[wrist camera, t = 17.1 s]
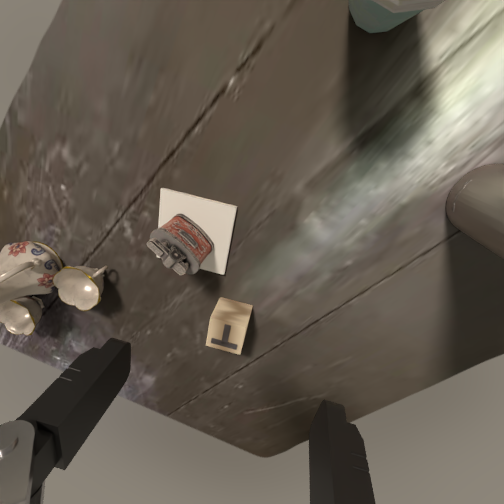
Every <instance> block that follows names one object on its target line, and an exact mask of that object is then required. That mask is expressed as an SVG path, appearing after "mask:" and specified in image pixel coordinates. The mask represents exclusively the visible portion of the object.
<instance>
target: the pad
mask: <svg viewBox="0 0 504 504" xmlns="http://www.w3.org/2000/svg"><path fill="white" fill-rule="evenodd" d="M236 211H237V206H234V205H230V204H226V203H222V202H218V201H214V200H210V199H206V198H202V197H198V196H194V195H190V194H186V193H182V192H178V191H174V190H170V189H166V188H161V193H160V209H159V225H158V228H159V227H162V226H163V225H164V224H166V223H167V222H169V221H170V220H171V219H172V217H174V216H175V215H176V214H179V213H180V214H184V215H185V216H187V217H188V218H190V219H191V220H193V221H194V222H195V223H196V224H198V225H199V226H200V227H201V228H202V229H203V230H204V231H205V232H206V233H207V235H208V236H209V237H210V239H211V240H212V241H213V243H214V249H213V250H212V252H211V253H210V254H208V255H207V257H206V258H205V259H204V261H203V262H202V263H201V266H200V269H203V270H207V271H211V272H215V273H218V274H222V275H224V274H225V270H226V264H227V259H228V254H229V248H230V243H231V238H232V232H233V227H234V221H235V216H236ZM157 257H158V258H160V257H159V256H158V255H157Z"/></svg>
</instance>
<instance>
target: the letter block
mask: <svg viewBox="0 0 504 504" xmlns="http://www.w3.org/2000/svg"><path fill="white" fill-rule="evenodd" d="M252 307H253V306H252V305H249V304H245V303H241V302H237V301H233V300H230V299H226V298H222V297H220V299H219V301H218V303H217V305H216V307H215V309H214V311H213V313H212V315H211V317H210V322H209V329H208V335H207V341H206V345H207V346H210V347H214V348H217V349H221V350H225V351H228V352H232V353H235V354H239V355H240V354H241V350H242V346H243V343H244V339H245V336H246V332H247V328H248V324H249V320H250V315H251V311H252Z"/></svg>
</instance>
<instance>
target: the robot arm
mask: <svg viewBox="0 0 504 504" xmlns="http://www.w3.org/2000/svg"><path fill="white" fill-rule="evenodd" d="M446 212H447V216H448V218H449V220H450V222H451V223H452V224H453V225H454V226H455V227H456V228H458V229H459V230H461V231H462V232H464V233H465V234H467V235H468V236H469V237H471V238H472V239H474V240H475V241H477V242H478V243H480V244H481V245H483V246H484V247H486V248H487V249H489V250H490V251H492V252H493V253H495V254H496V255H498V256H499V257H501V258H502V259H504V164H490V165H484V166H481V167H479V168H476V169H474V170H472V171H470V172H469V173H467V174H466V175H464V176H463V177H462V178H461V179H460V180H459V181H458V182H457V183H456V184H455V185H454V187H453V188H452V190H451V191H450V193H449V196H448V198H447V204H446ZM130 363H131V344H130V343H129V342H125V341H122V340H118V339H115V338H111V339H109V340H108V341H107V342H106V343H105V344H104V345H103V346H102V348H101V349H98V348H94V347H93V348H92V349H90V350H88V351H86V352H85V353H83V354H81V355H80V356H79V357H78V358H77V359H76V360H75V361H74V362H73V363H72V364H71V365H70V366H69V368H68V369H66V370H65V371H64V372H63V373H62V374H61V375H60V377H59V378H57V379H56V380H55V381H54V382H53V383H52V384H51V385H50V386H49V388H47V389H46V390H45V392H44V393H43V394H42V395H41V396H40V397H39V398H38V399H37V400H36V401H35V402H34V403H33V404H32V405H31V406H30V407H29V408H28V409H27V410H26V411H25V412H24V413H23V414H22V415H21V416H20V417H19V418H17V419H16V420H14V421H9V422H6V423H4V424H1V425H0V504H43V499H44V488H45V479H46V478H47V476H48V475H49V473H50V472H51V471H52V469H53V468H54V467H56V468H60V469H63V470H65V469H66V468H67V466H68V465H69V463H70V462H71V461H72V459H73V457H74V456H75V455H76V453H77V452H78V450H79V449H80V447H81V446H82V444H83V443H84V442H85V440H86V439H87V437H88V436H89V434H90V433H91V432H92V430H93V429H94V427H95V426H96V424H97V423H98V422H99V420H100V419H101V417H102V416H103V414H104V413H105V411H106V410H107V409H108V407H109V406H110V404H111V403H112V401H113V400H114V398H115V397H116V395H117V394H118V393H119V391H120V390H121V388H122V387H123V385H124V384H125V382H126V380H127V378H128V376H129V373H130ZM309 467H310V504H375V499H374V494H373V488H372V483H371V478H370V474H369V467H368V462H367V460H366V451H365V446H364V441H363V439H362V437H361V435H360V433H359V431H358V429H357V427H356V425H354V424H351V423H348V422H347V421H346V414H345V409H344V406H343V405H340V404H337V403H333V402H330V401H327V400H323V401H322V403H321V405H320V407H319V409H318V411H317V413H316V415H315V417H314V420H313V422H312V424H311V428H310V434H309Z"/></svg>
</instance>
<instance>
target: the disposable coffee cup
mask: <svg viewBox="0 0 504 504" xmlns="http://www.w3.org/2000/svg"><path fill="white" fill-rule="evenodd" d="M444 1H445V0H349V10H350V12H351V15H352V17H353V19H354V21H355V24H356V25H357V26H358V27H360V28H362V29H363V30H365V31H367V32H369V33H378V32H387V31H389V30H390V29H392V28H394V27H396V26H397V25H399V24H401V23H403V22H404V21H406V20H408V19H409V18H411V17H413V16H415V15H416V14H418V13H420V12H421V11H423V10H425V9H432V8H435V7H437V6H438V5H439V4H441V3H442V2H444Z"/></svg>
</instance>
